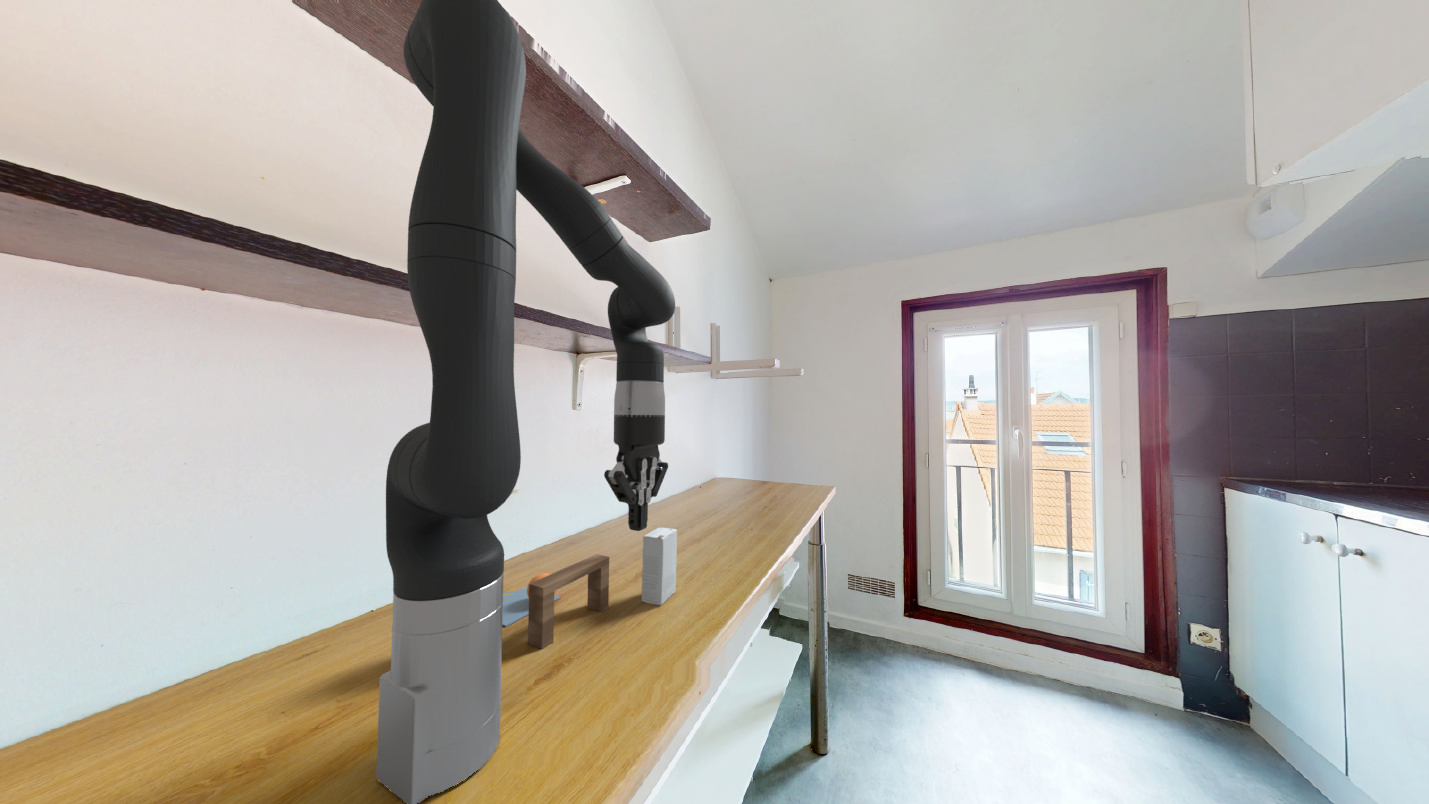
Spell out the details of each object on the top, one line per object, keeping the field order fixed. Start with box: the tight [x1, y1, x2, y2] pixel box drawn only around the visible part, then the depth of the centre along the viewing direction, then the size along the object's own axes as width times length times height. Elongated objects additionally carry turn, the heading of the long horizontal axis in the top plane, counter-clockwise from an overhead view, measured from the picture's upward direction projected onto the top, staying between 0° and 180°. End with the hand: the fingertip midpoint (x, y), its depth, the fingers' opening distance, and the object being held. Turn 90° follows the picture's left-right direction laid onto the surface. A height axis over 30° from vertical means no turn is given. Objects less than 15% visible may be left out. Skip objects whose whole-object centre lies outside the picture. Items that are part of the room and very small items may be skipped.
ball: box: [526, 572, 558, 597], centre depth 70 cm, size 5×5×5 cm
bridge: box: [527, 553, 610, 650], centre depth 64 cm, size 3×14×9 cm, turn 154°
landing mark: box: [502, 586, 562, 627], centre depth 70 cm, size 11×11×1 cm
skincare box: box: [641, 527, 678, 606], centre depth 73 cm, size 6×4×12 cm
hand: (638, 529), depth 58 cm, fingers closed
